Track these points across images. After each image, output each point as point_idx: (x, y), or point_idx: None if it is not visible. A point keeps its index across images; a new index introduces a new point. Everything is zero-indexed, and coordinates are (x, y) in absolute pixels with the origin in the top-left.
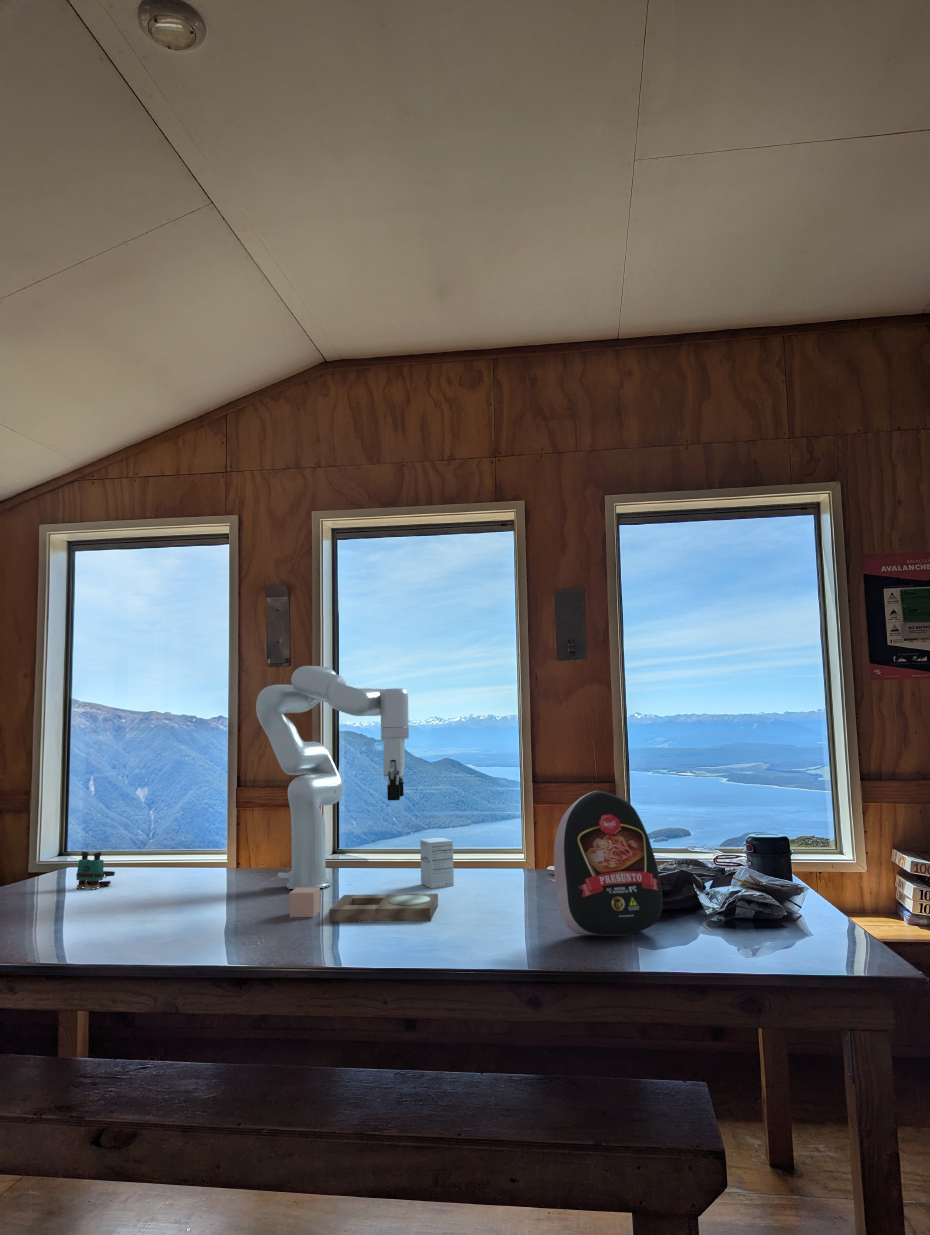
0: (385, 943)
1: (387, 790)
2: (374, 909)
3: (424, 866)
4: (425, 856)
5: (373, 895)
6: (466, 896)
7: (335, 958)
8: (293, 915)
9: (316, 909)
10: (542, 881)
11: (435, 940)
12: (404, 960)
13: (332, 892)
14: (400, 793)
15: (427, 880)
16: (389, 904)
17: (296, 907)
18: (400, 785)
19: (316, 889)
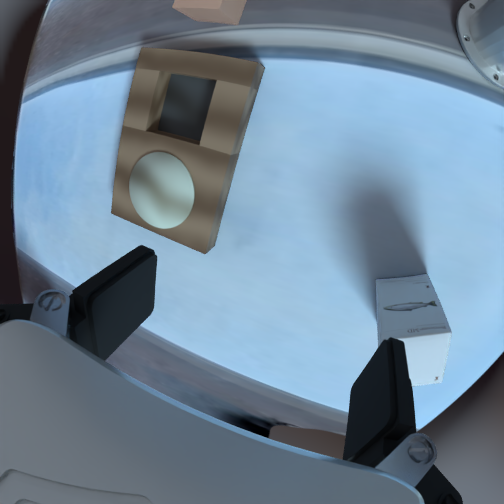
0: (57, 139)
1: (102, 271)
2: (123, 124)
3: (411, 296)
4: (407, 311)
5: (227, 125)
6: (272, 312)
7: (35, 93)
8: None
9: (207, 19)
10: (327, 423)
11: (59, 196)
12: (24, 158)
13: (431, 67)
14: (356, 390)
15: (393, 283)
16: (143, 151)
17: None
18: (353, 436)
19: (200, 6)
